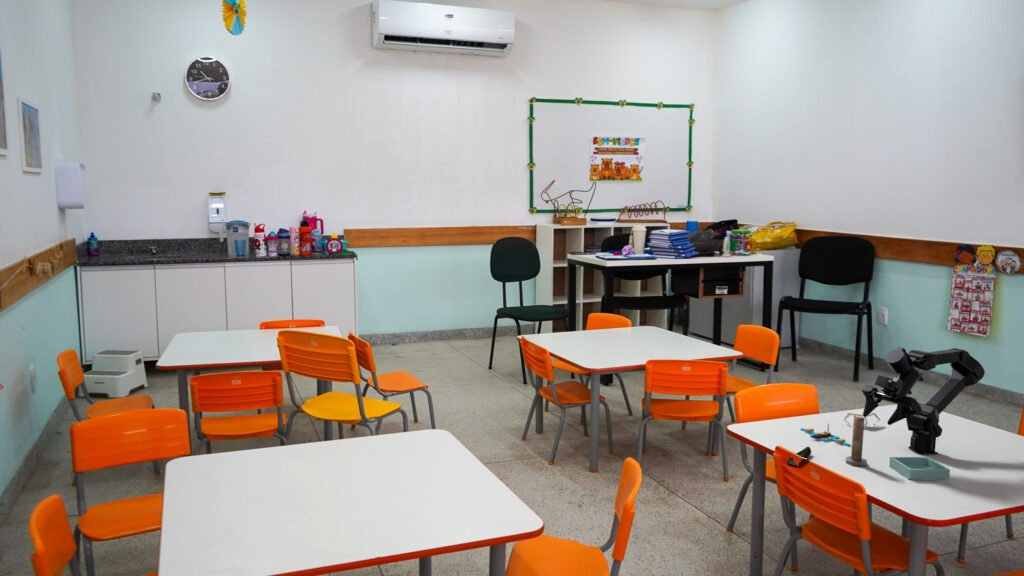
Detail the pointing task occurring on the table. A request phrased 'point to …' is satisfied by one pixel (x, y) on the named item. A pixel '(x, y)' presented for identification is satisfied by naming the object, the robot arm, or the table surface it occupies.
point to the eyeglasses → (858, 413)
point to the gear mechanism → (825, 436)
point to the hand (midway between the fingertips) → (875, 420)
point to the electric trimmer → (802, 453)
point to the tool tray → (919, 468)
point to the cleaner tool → (857, 444)
